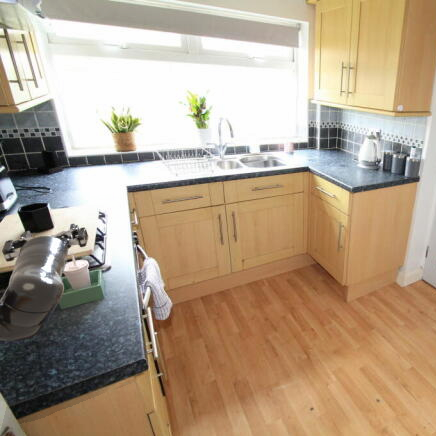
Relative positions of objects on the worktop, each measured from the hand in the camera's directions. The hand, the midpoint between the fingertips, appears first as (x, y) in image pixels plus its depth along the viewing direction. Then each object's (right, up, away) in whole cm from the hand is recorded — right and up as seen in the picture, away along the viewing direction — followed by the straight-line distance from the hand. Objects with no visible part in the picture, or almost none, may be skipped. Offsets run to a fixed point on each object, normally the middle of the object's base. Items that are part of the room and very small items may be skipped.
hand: (51, 230), depth 77 cm
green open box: (-7, -20, +19) cm, 28 cm away
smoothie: (-6, -20, +19) cm, 28 cm away
